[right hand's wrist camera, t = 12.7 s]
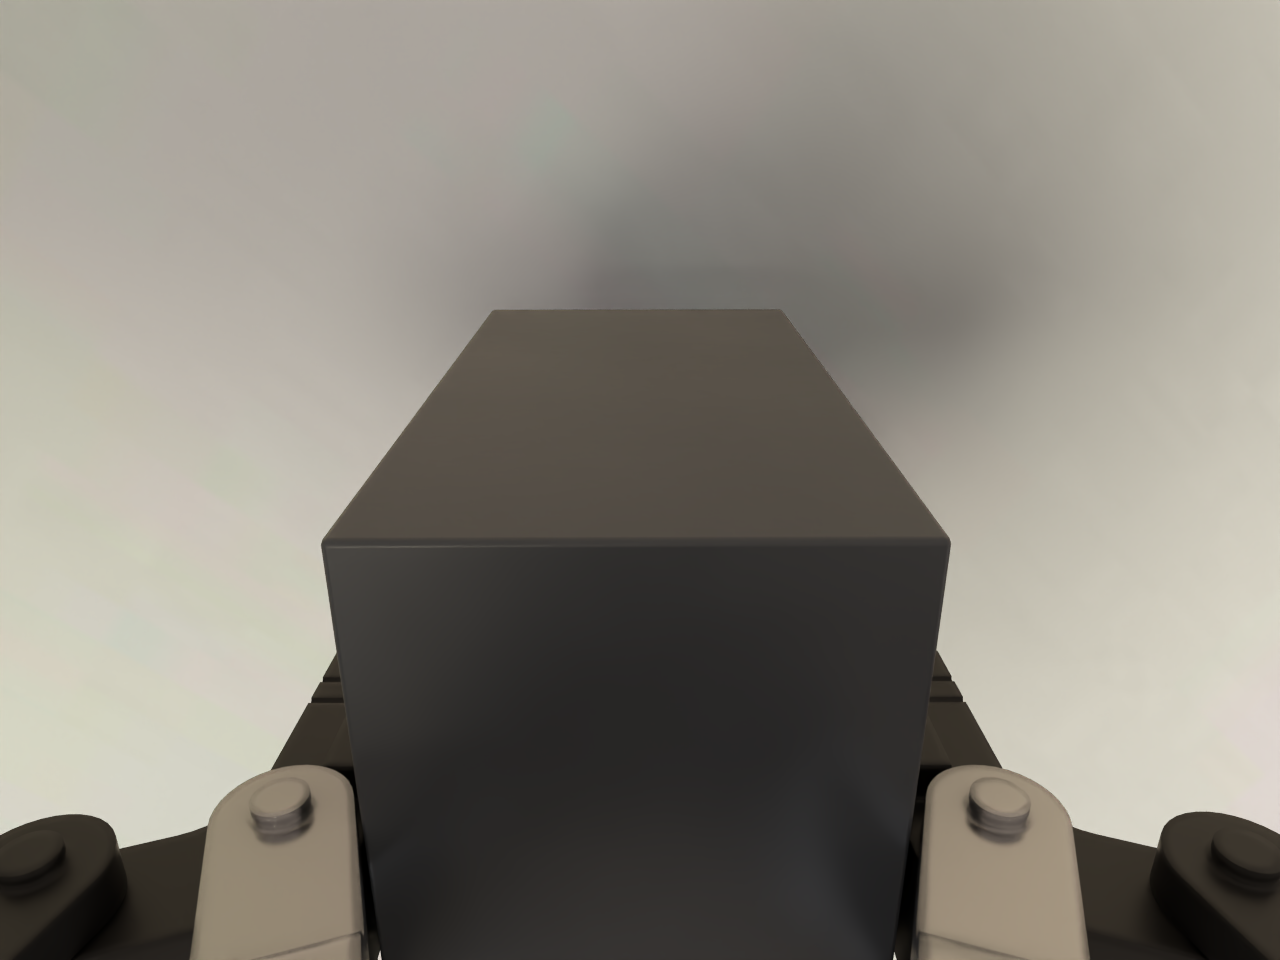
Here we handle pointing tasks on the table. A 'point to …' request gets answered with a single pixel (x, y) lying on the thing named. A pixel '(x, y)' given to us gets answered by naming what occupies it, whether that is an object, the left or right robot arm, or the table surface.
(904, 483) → the bar
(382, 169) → the table surface
